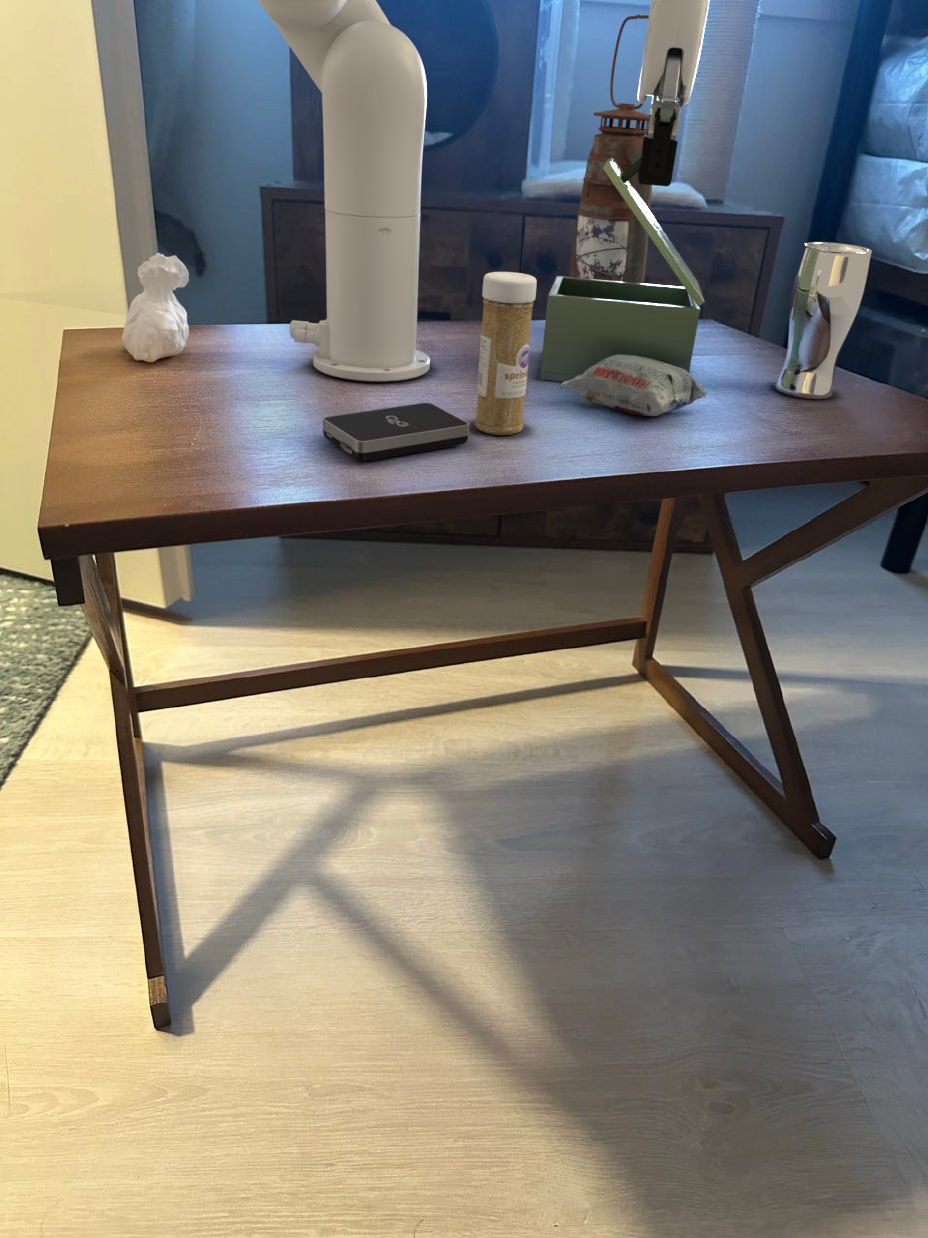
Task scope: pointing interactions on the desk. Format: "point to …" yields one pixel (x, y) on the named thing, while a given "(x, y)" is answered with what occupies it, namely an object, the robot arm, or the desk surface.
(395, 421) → the external hard drive
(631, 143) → the lantern
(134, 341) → the white tied sack
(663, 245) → the bin lid
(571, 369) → the waste bin
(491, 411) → the sprinkles bottle
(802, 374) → the beer glass
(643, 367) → the packaged food
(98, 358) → the desk surface
